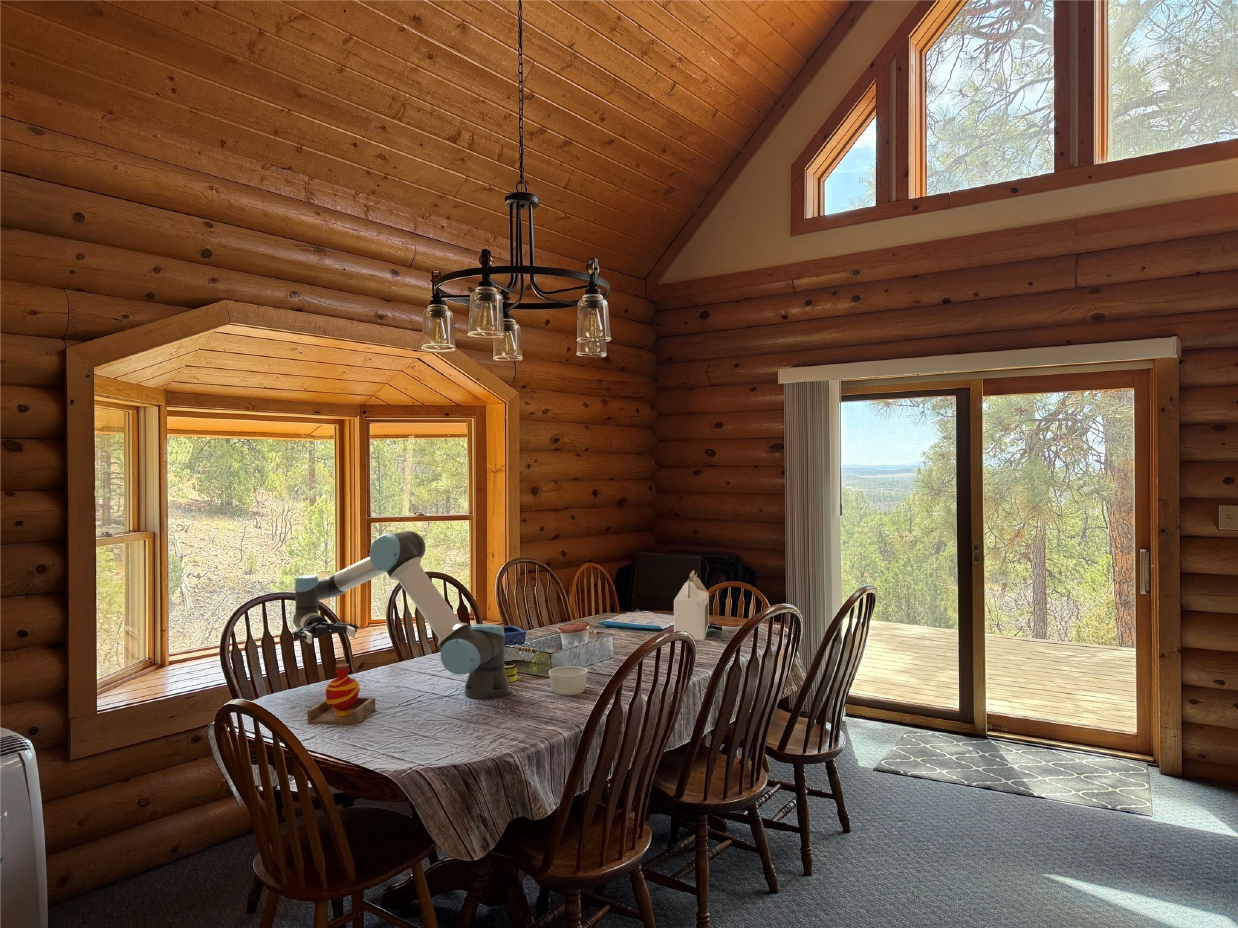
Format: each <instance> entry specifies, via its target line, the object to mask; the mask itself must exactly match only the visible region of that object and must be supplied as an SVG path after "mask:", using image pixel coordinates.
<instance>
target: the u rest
mask: <svg viewBox="0 0 1238 928" xmlns="http://www.w3.org/2000/svg"><path fill="white" fill-rule="evenodd" d="M350 711H351V714H349V715H346V716H336V715H334V714H335V712H336V710H335V709H333V708H332V707H331V706H330V705H329V704H327V703H326V698H325V699H323V700H322V701H320V702H318V703H317V704H315V705H314V706H313V707H310V709H309V708H308V709H307V716H306V718H307V720H306V721H307V724H318V723H321V724H323V725H324V724H325V725H327V724H328V725H349V726H350V725H352V726H353V725H354V726H355V725H357V724H358V723H360V722H361V721H362V720H364V719H365V718H366V717H368V716H369V715H370V714H372V713H373V712H374V711H376V697H371V696H369V697H368V696H367V697H366V696H358V698H357V700H356V702H355V703H354V705H353V706H352V707H351V708H350ZM372 711H373V712H372ZM368 714H369V715H368ZM321 724H320V725H321Z"/></svg>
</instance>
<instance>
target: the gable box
mask: <svg viewBox="0 0 1238 928" xmlns="http://www.w3.org/2000/svg"><path fill="white" fill-rule="evenodd" d="M697 575H698V573H696V574H695V569H693V570H692V571H691V572H689V575H688V579H687V581H686V582H685V583H683V585H682V588H681V589H680V590H679V592H678V593H677V595H676V596H675V597H674V599H673V633H674V632H676V631H687V632H688V633H690V634H691V635H692V636H693V637H694V639H695V640H694V641H704V640H705V639H706V637H707V635H706V633H707V629H708V626H709V627H710V620H709V619H710V614H709V613H710V612H709V611H710V610H709V609H710V605H709V604H710V602H709V600H710V597H709V596H710V592H709V590H707V588H706V586H705V585H704V584H703V583H702V581H701V579H700V578H699V577H698V576H697ZM705 624H707V626H706V628H705ZM707 634H708V633H707Z"/></svg>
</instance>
